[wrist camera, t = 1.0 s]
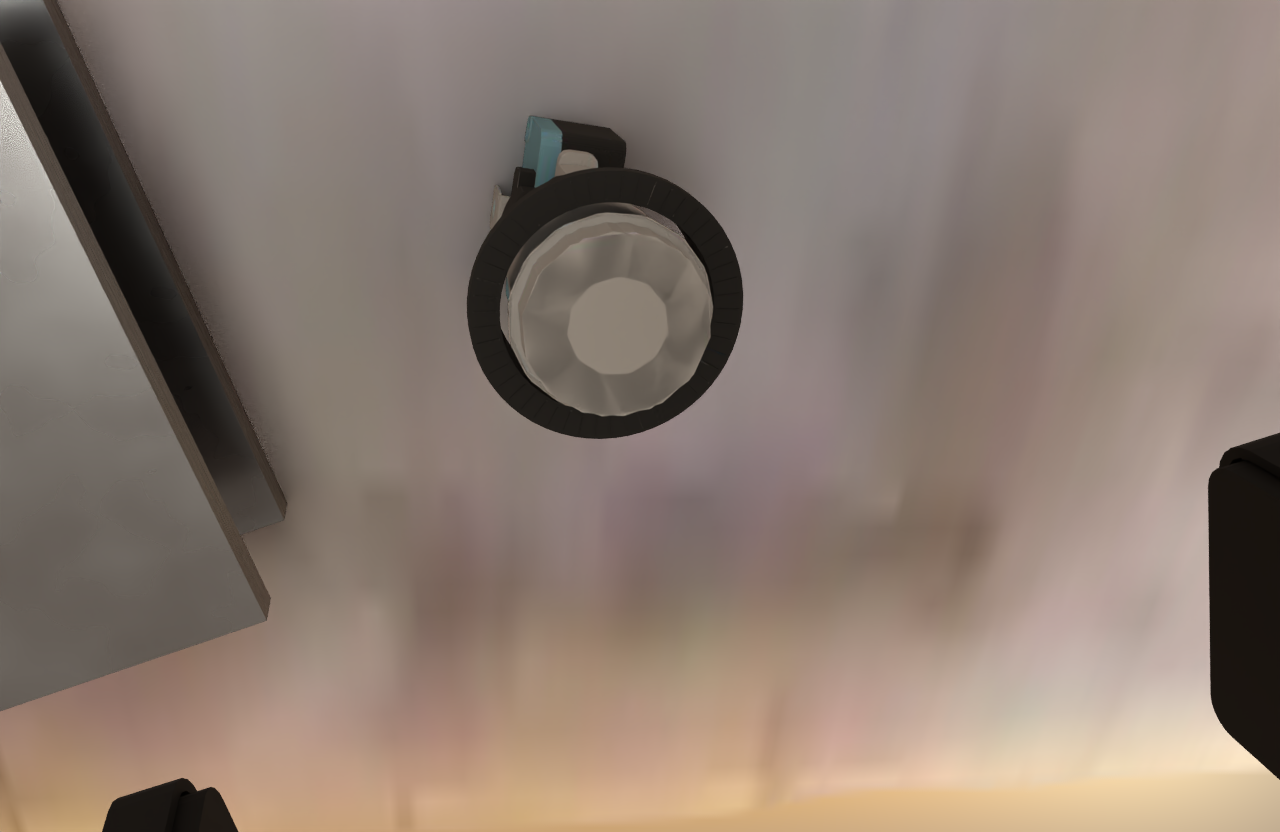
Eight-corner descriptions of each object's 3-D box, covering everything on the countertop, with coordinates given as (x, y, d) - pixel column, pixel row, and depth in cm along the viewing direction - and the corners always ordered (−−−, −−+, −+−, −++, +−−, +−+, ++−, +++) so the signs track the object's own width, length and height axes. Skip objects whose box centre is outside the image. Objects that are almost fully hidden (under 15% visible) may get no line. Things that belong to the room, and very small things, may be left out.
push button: (621, 362, 32) (713, 529, 23) (428, 342, 31) (446, 511, 22) (664, 121, 30) (785, 202, 21) (458, 89, 29) (492, 161, 20)
